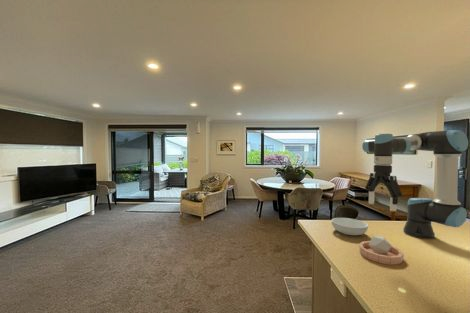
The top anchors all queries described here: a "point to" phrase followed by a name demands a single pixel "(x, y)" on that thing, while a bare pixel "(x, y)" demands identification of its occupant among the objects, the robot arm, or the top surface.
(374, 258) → the tray
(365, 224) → the serving bowl
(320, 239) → the top surface
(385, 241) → the die
